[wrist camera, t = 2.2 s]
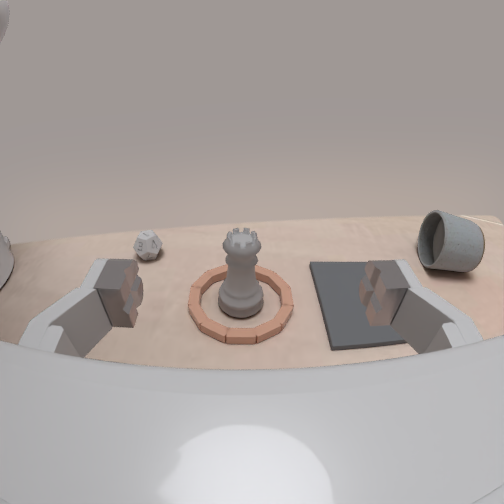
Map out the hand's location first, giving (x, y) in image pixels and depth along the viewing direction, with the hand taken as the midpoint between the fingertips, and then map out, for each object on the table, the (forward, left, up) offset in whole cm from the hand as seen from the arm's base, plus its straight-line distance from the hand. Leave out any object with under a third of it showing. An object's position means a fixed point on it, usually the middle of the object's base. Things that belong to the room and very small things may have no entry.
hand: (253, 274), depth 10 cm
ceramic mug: (+28, +21, -15) cm, 38 cm away
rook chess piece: (0, +13, -15) cm, 20 cm away
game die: (-11, +21, -15) cm, 28 cm away
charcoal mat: (+12, +13, -15) cm, 23 cm away
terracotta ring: (0, +13, -15) cm, 20 cm away
